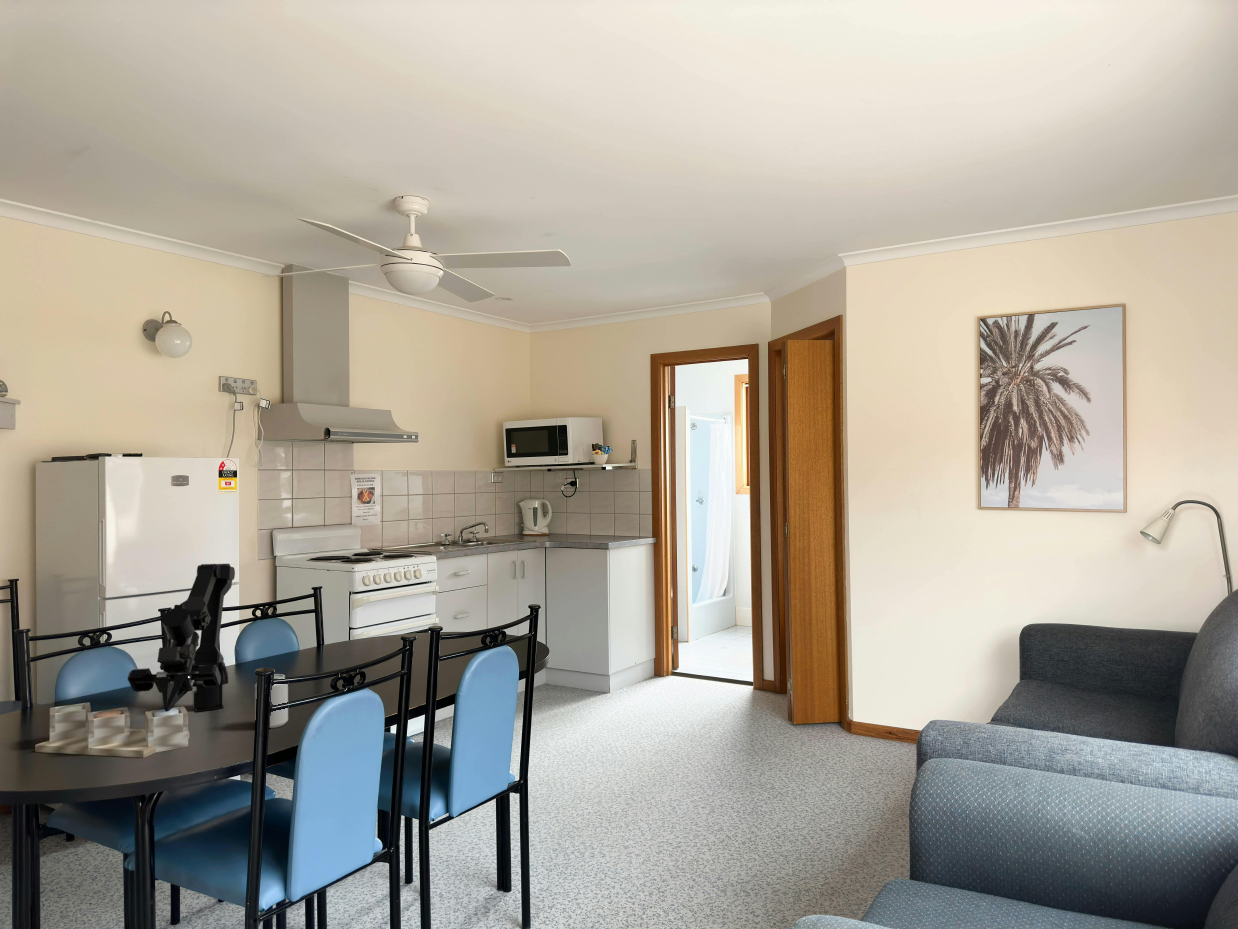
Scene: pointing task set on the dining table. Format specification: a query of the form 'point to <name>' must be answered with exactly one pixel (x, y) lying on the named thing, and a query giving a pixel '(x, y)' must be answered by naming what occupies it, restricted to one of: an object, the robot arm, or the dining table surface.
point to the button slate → (166, 712)
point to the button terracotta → (108, 714)
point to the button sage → (70, 709)
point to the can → (277, 702)
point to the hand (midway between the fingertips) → (166, 710)
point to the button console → (114, 733)
